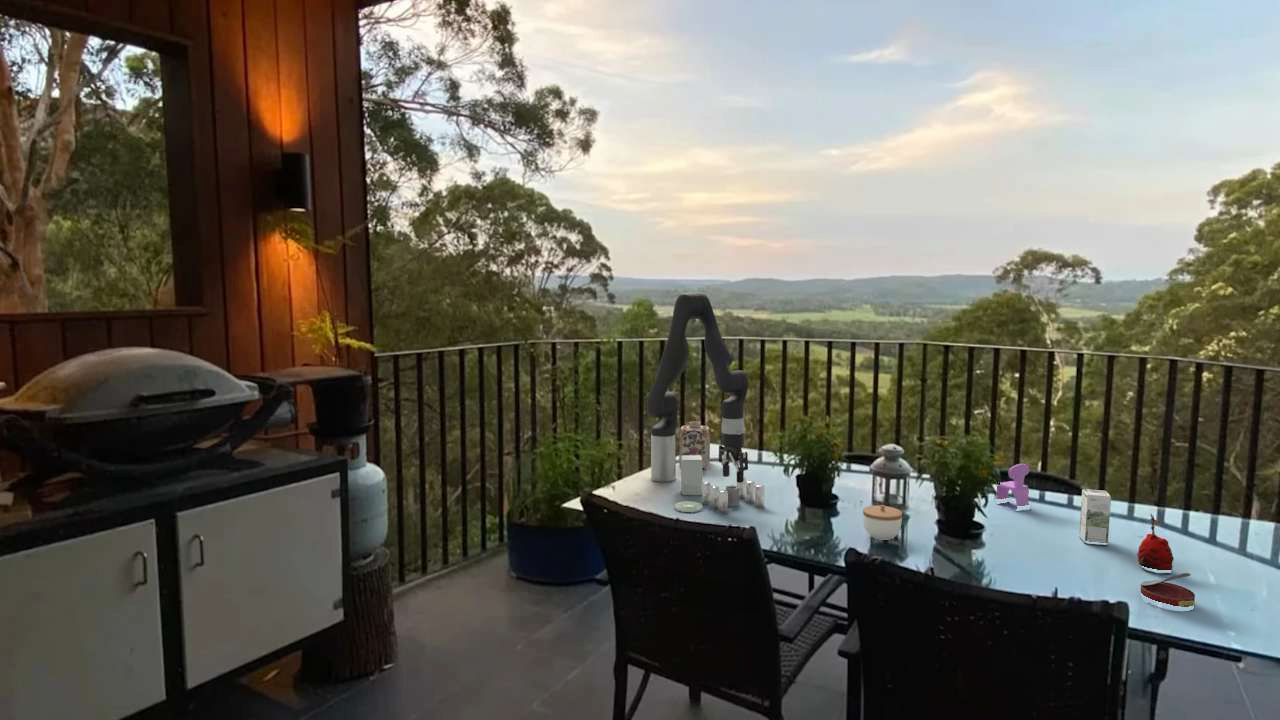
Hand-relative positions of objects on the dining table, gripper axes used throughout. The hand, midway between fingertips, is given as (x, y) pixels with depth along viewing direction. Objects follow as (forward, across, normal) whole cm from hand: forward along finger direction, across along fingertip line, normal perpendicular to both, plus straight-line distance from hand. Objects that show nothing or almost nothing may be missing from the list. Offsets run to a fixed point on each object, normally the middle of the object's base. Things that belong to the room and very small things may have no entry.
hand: (733, 479), depth 232 cm
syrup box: (+10, +74, +72) cm, 103 cm away
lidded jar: (+10, +45, +22) cm, 51 cm away
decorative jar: (+8, -52, +15) cm, 55 cm away
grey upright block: (+9, 0, 0) cm, 9 cm away
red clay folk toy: (+10, +92, +66) cm, 114 cm away
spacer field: (+9, 0, 0) cm, 9 cm away
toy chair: (+10, +42, +81) cm, 92 cm away
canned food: (+11, +104, +49) cm, 116 cm away
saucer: (+9, -3, -15) cm, 18 cm away
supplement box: (+9, -19, -5) cm, 22 cm away
